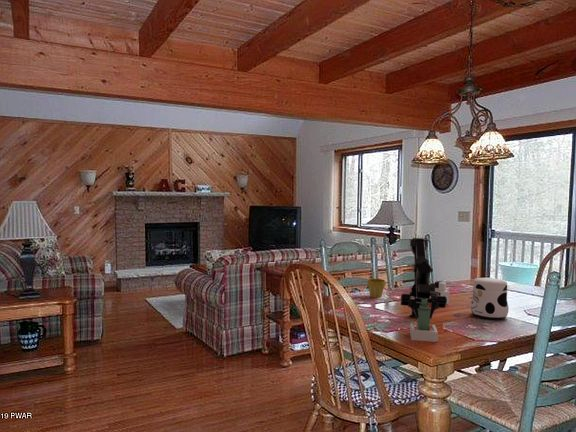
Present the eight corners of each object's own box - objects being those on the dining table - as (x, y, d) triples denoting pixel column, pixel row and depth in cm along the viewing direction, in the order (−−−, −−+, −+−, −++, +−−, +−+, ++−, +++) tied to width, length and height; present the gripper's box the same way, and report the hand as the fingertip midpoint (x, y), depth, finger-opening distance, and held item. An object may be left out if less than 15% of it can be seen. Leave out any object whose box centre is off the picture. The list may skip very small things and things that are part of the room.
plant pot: (388, 297, 260) (389, 281, 260) (374, 299, 256) (374, 282, 255) (377, 293, 269) (378, 277, 269) (363, 295, 265) (363, 279, 264)
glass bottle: (422, 329, 193) (423, 296, 193) (432, 333, 189) (433, 299, 188) (414, 331, 191) (415, 298, 190) (424, 335, 186) (425, 300, 185)
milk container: (462, 313, 228) (463, 278, 227) (487, 310, 235) (488, 276, 234) (490, 323, 212) (491, 285, 211) (516, 319, 219) (517, 283, 218)
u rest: (409, 332, 196) (410, 323, 196) (434, 334, 194) (434, 325, 194) (411, 339, 186) (411, 330, 186) (437, 342, 184) (437, 332, 184)
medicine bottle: (430, 302, 251) (430, 281, 250) (439, 300, 254) (440, 280, 254) (439, 305, 245) (440, 283, 244) (449, 303, 248) (450, 282, 247)
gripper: (401, 275, 194) (402, 306, 184) (447, 277, 190) (450, 309, 180) (400, 289, 202) (400, 320, 192) (443, 291, 199) (446, 323, 189)
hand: (424, 318), depth 188 cm, fingers closed on glass bottle, 5 cm apart
